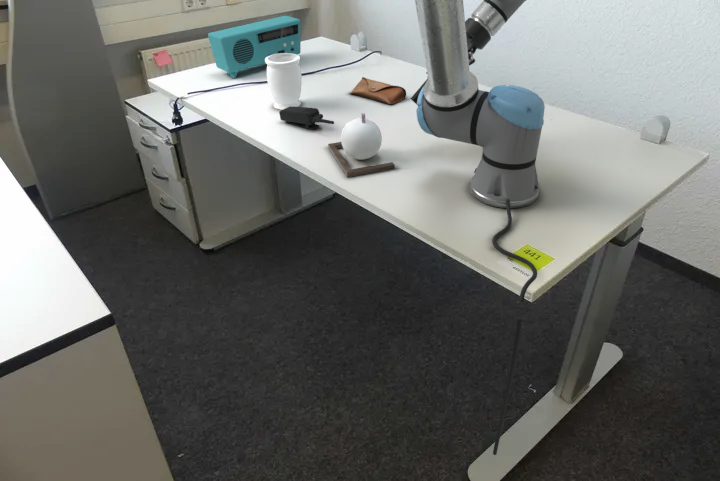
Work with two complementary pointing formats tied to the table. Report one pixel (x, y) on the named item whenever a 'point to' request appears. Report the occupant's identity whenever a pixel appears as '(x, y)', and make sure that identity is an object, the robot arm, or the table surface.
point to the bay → (357, 171)
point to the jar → (284, 79)
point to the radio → (254, 43)
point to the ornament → (361, 138)
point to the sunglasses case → (379, 91)
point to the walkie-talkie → (303, 117)
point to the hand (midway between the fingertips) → (414, 102)
